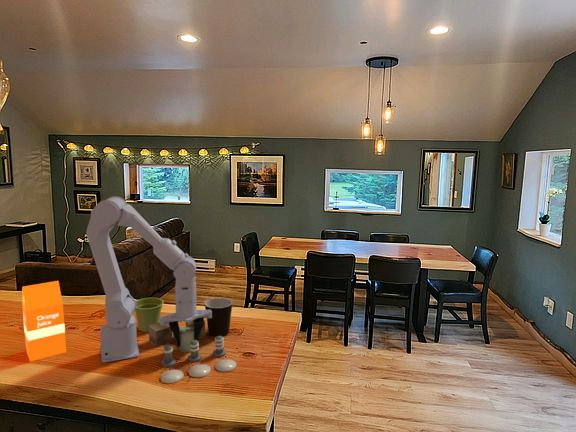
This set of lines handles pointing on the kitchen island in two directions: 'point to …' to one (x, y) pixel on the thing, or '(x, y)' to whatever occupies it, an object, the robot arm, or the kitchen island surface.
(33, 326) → the orange juice
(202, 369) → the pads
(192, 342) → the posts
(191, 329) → the pale green rounded cylinder
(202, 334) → the walnut block
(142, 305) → the plant pot
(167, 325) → the walnut block
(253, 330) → the kitchen island surface
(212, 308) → the coffee mug
